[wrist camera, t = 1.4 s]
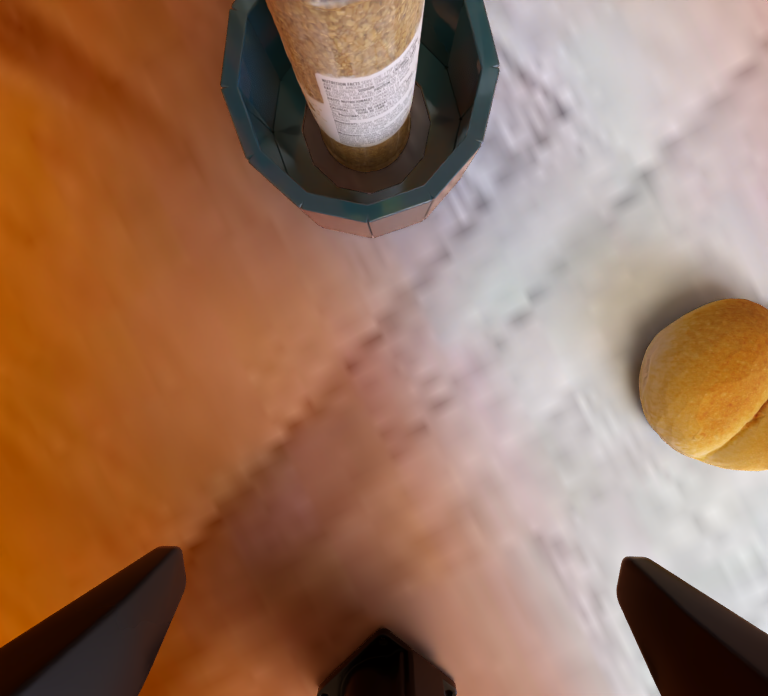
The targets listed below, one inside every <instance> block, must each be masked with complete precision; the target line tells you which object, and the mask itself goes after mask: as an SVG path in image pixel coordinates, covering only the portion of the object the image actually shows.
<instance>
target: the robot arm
mask: <svg viewBox="0 0 768 696" xmlns="http://www.w3.org/2000/svg"><path fill="white" fill-rule="evenodd" d="M185 585H186V574H185V567H184V560H183V554H182V550H181V549H180V548H179V547H177V546H160V547H157V548H156V549H154V550H152V551H151V552H149V553H148V554H146V555H145V556H143V557H141V558H140V559H138V560H137V561H135V562H134V563H132V564H131V565H129V566H127V567H126V568H124V569H123V570H121V571H120V572H118V573H116V574H115V575H113V576H112V577H110V578H109V579H107V580H106V581H104V582H102V583H101V584H99V585H98V586H96V587H95V588H93V589H92V590H90V591H88V592H87V593H85V594H84V595H82V596H81V597H79V598H78V599H76V600H74V601H73V602H71V603H70V604H68V605H67V606H65V607H64V608H62V609H60V610H59V611H57V612H56V613H54V614H53V615H51V616H49V617H48V618H46V619H45V620H43V621H42V622H40V623H39V624H37V625H35V626H34V627H32V628H31V629H29V630H28V631H26V632H25V633H23V634H21V635H20V636H18V637H17V638H15V639H14V640H12V641H11V642H9V643H7V644H6V645H4V646H3V647H1V648H0V696H138V694H139V692H140V690H141V688H142V686H143V684H144V682H145V680H146V678H147V676H148V674H149V672H150V669H151V667H152V665H153V663H154V660H155V658H156V656H157V653H158V651H159V649H160V646H161V644H162V642H163V639H164V637H165V635H166V632H167V630H168V628H169V625H170V623H171V621H172V618H173V616H174V614H175V611H176V609H177V607H178V604H179V602H180V600H181V597H182V595H183V593H184V590H185ZM617 598H618V601H619V604H620V606H621V609H622V611H623V613H624V615H625V618H626V620H627V622H628V624H629V626H630V629H631V631H632V633H633V635H634V637H635V640H636V642H637V644H638V646H639V649H640V651H641V653H642V655H643V657H644V660H645V662H646V664H647V666H648V668H649V671H650V673H651V675H652V677H653V680H654V682H655V684H656V686H657V688H658V690H659V692H660V694H661V696H768V634H767V633H765V632H763V631H762V630H760V629H759V628H757V627H756V626H754V625H752V624H751V623H749V622H748V621H746V620H745V619H743V618H741V617H740V616H738V615H737V614H735V613H734V612H732V611H730V610H729V609H727V608H726V607H724V606H723V605H721V604H719V603H718V602H716V601H715V600H713V599H712V598H710V597H709V596H707V595H705V594H704V593H702V592H701V591H699V590H698V589H696V588H694V587H693V586H691V585H690V584H688V583H687V582H685V581H683V580H682V579H680V578H679V577H677V576H676V575H674V574H672V573H671V572H669V571H668V570H666V569H665V568H663V567H661V566H660V565H658V564H657V563H655V562H654V561H652V560H650V559H649V558H646V557H625V558H624V559H623V560H622V563H621V568H620V573H619V578H618V583H617ZM382 638H385V639H382ZM456 694H457V691H456V685H455V683H454V682H453V681H452V680H451V679H450V678H448V677H447V676H446V675H445V674H443V673H442V672H441V671H439V670H438V669H437V668H436V667H434V666H433V665H432V664H431V663H429V662H428V661H427V660H426V659H424V658H423V657H422V656H420V655H419V654H418V653H417V652H415V651H414V650H413V649H412V648H410V647H409V646H408V645H407V644H405V643H404V642H403V641H402V640H400V639H399V638H398V637H396V636H395V635H394V634H393V633H391V632H390V631H389V630H387V629H384V628H382V629H379V630H377V631H376V632H375V633H374V634H373V635H372V636H371V637H370V638H369V639H368V640H367V641H366V642H365V643H364V644H362V645H361V646H360V647H359V648H358V649H357V650H356V651H355V652H354V653H353V654H352V655H351V656H350V657H349V658H348V659H347V660H346V661H345V662H344V663H343V664H342V665H341V666H340V667H339V668H337V669H336V670H335V671H334V672H333V673H332V674H331V675H330V676H329V677H328V678H327V679H326V680H325V681H324V682H323V683H322V684H321V685H320V686H319V688H318V693H317V696H456Z"/></svg>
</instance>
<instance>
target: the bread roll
mask: <svg viewBox="0 0 768 696" xmlns="http://www.w3.org/2000/svg"><path fill="white" fill-rule="evenodd" d="M639 391H640V400H641V404H642V409H643V412H644V415H645V417H646V419H647V421H648V422H649V424H650V425H651V427H652V428H653V429H654V430H655V431H656V432H657V433H658V435H659V436H660V437H661V439H662V440H663V441H665V442H666V443H667V444H668V445H670V446H671V447H672V448H673V449H674V450H676V451H678V452H679V453H681V454H683V455H685V456H688V457H690V458H694V459H697V460H699V461H702V462H704V463H707V464H710V465H714V466H717V467H720V468H725V469H732V470H745V471H761V470H768V309H766V308H765V307H763V306H761V305H760V304H757V303H754V302H752V301H749V300H746V299H723V300H718V301H714V302H711V303H708V304H706V305H703V306H701V307H699V308H697V309H695V310H693V311H691V312H689V313H687V314H685V315H683V316H682V317H681V318H679V319H678V320H676V321H674V322H673V323H671V324H670V325H668V326H667V327H666V328H664V329H663V330H662V331H660V332H659V333H658V334H657V335H656V336H655V337H654V339H653V340H652V342H651V343H650V345H649V346H648V348H647V350H646V352H645V355H644V358H643V361H642V365H641V370H640V375H639Z"/></svg>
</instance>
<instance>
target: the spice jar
mask: <svg viewBox="0 0 768 696" xmlns="http://www.w3.org/2000/svg"><path fill="white" fill-rule="evenodd" d="M265 1H266V3H267V6H268V9H269V11H270V13H271V15H272V17H273V20H274V23H275V25H276V27H277V30H278V32H279V34H280V37H281V40H282V43H283V46H284V49H285V51H286V54H287V56H288V58H289V60H290V62H291V64H292V67H293V70H294V73H295V75H296V78H297V81H298V83H299V85H300V87H301V89H302V92H303V94H304V96H305V99H306V101H307V103H308V106H309V108H310V110H311V112H312V115H313V116H314V118H315V120H316V122H317V123H318V125H319V126H320V131H321V135H322V139H323V141H324V144H325V146H326V147H327V149H328V151H329V153H330V154H331V155H332V156H333V157H334V158H335V159H336V160H337V161H338V162H339V163H340V164H342V165H344V166H346V167H347V168H349V169H352V170H355V171H360V172H365V173H366V172H371V171H377V170H380V169H382V168H385V167H387V166H388V165H390V164H391V163H392V162H394V161H395V160H396V159H397V158H398V156H399V155H400V154H401V153H402V151H403V149H404V148H405V146H406V143H407V141H408V138H409V134H410V128H411V120H410V108H411V104H412V100H413V92H414V84H415V77H416V69H417V61H418V53H419V45H420V37H421V28H422V20H423V12H424V3H425V0H265Z"/></svg>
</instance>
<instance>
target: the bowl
mask: <svg viewBox="0 0 768 696" xmlns="http://www.w3.org/2000/svg"><path fill="white" fill-rule="evenodd" d="M232 8H233V9H230V11H229V19H228V27H227V35H226V43H225V51H224V59H223V67H222V75H221V84H220V85H221V87H222V89H221V90H222V94H223V97H224V99H225V102H226V105H227V108H228V110H229V113H230V116H231V119H232V121H233V124H234V127H235V130H236V132H237V135H238V138H239V141H240V143H241V146H242V149H243V152H244V155H245V157H246V159H247V160H248V161H249V163H250V164H251V165H252V166H253V167H254V168H255V169H256V170H257V171H259V172H260V173H261V174H262V175H263V176H264V177H265V178H266V179H267V180H268V181H270V182H271V183H272V184H273V185H274V186H275V187H276V188H277V189H278V190H280V191H281V192H282V193H283V194H284V195H285V196H286V197H287V198H288V199H289V200H291V201H292V202H293V203H294V204H295V205H296V206H297V207H298V208H299V209H301V210H302V211H303V212H304V213H305V214H306V215H307V216H308V217H310V218H311V219H312V220H313V221H314V222H315V223H316V224H317V225H319V226H321V227H322V228H325V229H330V230H335V231H339V232H344V233H349V234H354V235H358V236H363V237H368V238H372V237H374V238H376V237H379V236H382V235H385V234H388V233H390V232H393V231H396V230H399V229H402V228H405V227H408V226H411V225H414V224H417V223H419V222H422V221H423V219H424V220H425V219H426V218H427V217H428V216H429V215H430V214H431V212H432V211H433V210H434V209H435V208H436V207H437V205H438V204H439V203H440V202H441V201H442V200H443V199H444V197H445V196H446V195H447V194H448V193H449V192H450V191H451V189H452V188H453V187H454V186H455V185H456V184H457V183H458V181H459V180H460V179H461V177H462V176H463V174H464V172H465V171H466V169H467V168H468V166H469V164H470V163H471V161H472V160H473V158H474V156H475V155H476V153H477V152H478V150H479V148H480V147H481V144H482V142H483V140H484V136H485V131H486V127H487V123H488V118H489V114H490V110H491V106H492V101H493V97H494V93H495V88H496V84H497V80H498V75H499V71H500V70H499V68H498V67H499V60H498V56H497V52H496V48H495V45H494V41H493V37H492V33H491V29H490V25H489V21H488V17H487V13H486V9H485V6H484V2H483V0H425V3H424V12H423V20H422V28H421V37H420V45H419V53H418V61H417V69H416V77H415V84H416V85H417V86H418V87H419V88H420V89H421V92H422V95H423V99H424V102H425V106H426V109H427V113H428V116H429V120H430V128H429V133H428V138H427V143H426V147H425V152H424V157H423V158H422V159H421V160H420V161H419V163H418V164H417V165H416V166H415V167H414V168H413V170H412V171H411V172H410V173H409V174H408V176H407V177H406V178H405V179H404V180H403V181H402V183H400V184H397V185H394V186H391V187H388V188H386V189H383V190H380V191H377V192H374V193H371V194H368V193H364V192H359V191H354V190H350V189H345V188H340V187H338V186H336V185H335V184H334V183H333V182H332V181H331V180H330V179H329V178H328V177H327V176H326V175H325V174H323V173H322V172H321V171H320V170H319V169H318V168H317V167H316V166H315V165H314V164H313V161H312V158H311V155H310V152H309V149H308V146H307V143H306V140H305V137H304V134H303V128H304V122H305V115H306V109H307V101H306V99H305V96H304V94H303V92H302V89H301V87H300V85H299V83H298V81H297V78H296V75H295V73H294V70H293V67H292V64H291V62H290V60H289V58H288V56H287V54H286V51H285V49H284V46H283V43H282V40H281V37H280V34H279V32H278V30H277V27H276V25H275V23H274V20H273V17H272V15H271V13H270V11H269V9H268V6H267V3H266V1H265V0H235V1H234V2H233V4H232Z"/></svg>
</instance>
